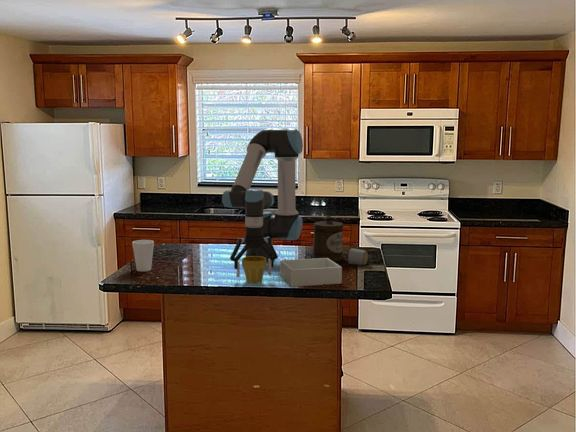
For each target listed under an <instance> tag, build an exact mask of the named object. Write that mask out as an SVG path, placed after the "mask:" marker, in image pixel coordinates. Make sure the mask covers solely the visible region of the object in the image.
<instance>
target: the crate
mask: <svg viewBox="0 0 576 432" xmlns="http://www.w3.org/2000/svg"><path fill="white" fill-rule="evenodd" d="M279 266H280V267H279V269H280V271H279V274H280V275H279V276H280V278H282V279H283V280H284V281H285V282H286V283H287V284H288V285H289V286H290V287H302V286H303V287H305V286H306V287H307V286H308V287H309V286H323V285H324V284H325V285H337V284H338V285H339V284H342V283H343V282H342V280H343V279H342V278H343V276H342V275H343V273H342V272H343V267H342V266H341V265H340V264H338V263H336V261H335V262H333V261H332V260H330V259H328V258H317V259H313V258H302V259H296V258H295V259H281V260H280V263H279Z"/></svg>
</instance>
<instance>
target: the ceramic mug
mask: <svg viewBox="0 0 576 432" xmlns="http://www.w3.org/2000/svg"><path fill="white" fill-rule="evenodd" d="M347 257H348V258H347V260H348V261H347V262H348V264H349V265H355V266H356V265H359V266H366V264H367V263H368V259H369V258H368V257H369V255H368V252H367V251H366V250H364V249H357V248H350V249H349V251H348V256H347Z"/></svg>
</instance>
